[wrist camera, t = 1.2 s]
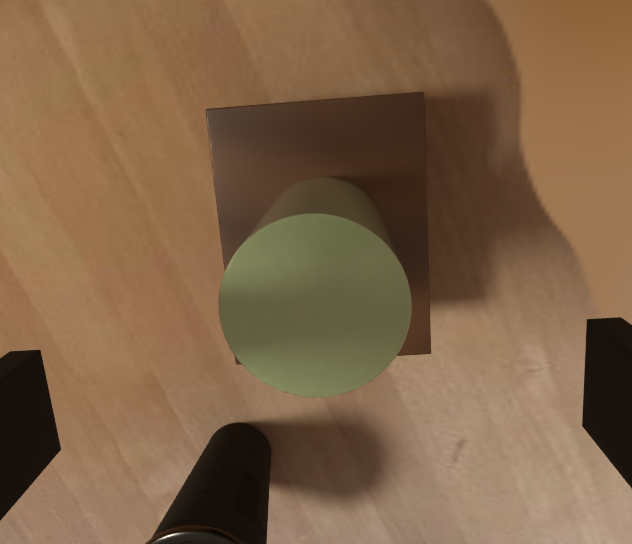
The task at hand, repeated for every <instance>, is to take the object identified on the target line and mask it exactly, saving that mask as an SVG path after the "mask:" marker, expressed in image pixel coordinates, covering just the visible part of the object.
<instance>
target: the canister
mask: <svg viewBox="0 0 632 544" xmlns="http://www.w3.org/2000/svg"><path fill="white" fill-rule="evenodd" d="M411 312H412V301H411V291H410V287H409V283H408V279H407V277H406V274H405V272H404V269H403V267H402V264H401V262H400V260H399V257H398V255H397V253H396V251H395V248H394V246H393V244H392V241H391V239H390V237H389V234H388V232H387V230H386V227H385V225H384V223H383V220H382V218H381V216H380V214H379V211H378V209H377V208H376V206H375V204H374V203H373V201H372V200H371V199H370V198H369V197H368V196H367V195H366V194H365V193H364V192H363V191H362V190H361V189H359V188H358V187H356V186H355V185H353V184H351V183H349V182H347V181H344V180H341V179H337V178H331V177H316V178H310V179H306V180H303V181H300V182H298V183H296V184H294V185H292V186H291V187H289V188H288V189H287V190H285V191H284V192H283V193H282V194H281V195H280V196H279V197H278V198H277V199H276V200H275V202H274V203H273V204H272V206H271V207H270V208H269V209H268V211H267V212H266V213H265V215H264V216H263V217H262V219H261V220H260V221H259V222H258V224H257V225H256V226H255V228H254V229H253V230H252V231H251V233H250V234H249V235H248V237H247V238H246V239H245V241H244V242H243V243H242V244H241V246H240V247H239V248H238V250H237V251H236V252H235V254H234V255H233V257H232V258H231V260H230V262H229V264H228V266H227V267H226V270H225V273H224V275H223V278H222V282H221V286H220V291H219V317H220V322H221V327H222V330H223V333H224V336H225V338H226V340H227V342H228V345H229V347H230V349H231V350H232V352H233V353H234V355H235V356H236V358H237V359H238V360H239V361H240V362H241V364H242V365H243V366H244V367H245V368H246V369H247V370H248V371H249V372H250V373H251V374H253V375H254V376H255V377H256V378H258V379H259V380H261V381H262V382H264V383H265V384H267V385H269V386H271V387H273V388H275V389H278V390H280V391H283V392H285V393H289V394H293V395H297V396H305V397H328V396H335V395H339V394H344V393H347V392H350V391H352V390H355V389H357V388H359V387H361V386H363V385H365V384H367V383H369V382H370V381H371V380H373V379H374V378H376V377H377V376H378V375H379V374H381V373H382V372H383V371H384V370H385V369H386V368H387V367H388V366H389V365H390V363H391V362H392V361H393V360H394V359H395V357H396V356H397V354H398V353H399V351H400V349H401V347H402V345H403V343H404V341H405V339H406V336H407V333H408V330H409V326H410V320H411Z"/></svg>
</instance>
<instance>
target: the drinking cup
mask: <svg viewBox="0 0 632 544" xmlns="http://www.w3.org/2000/svg"><path fill="white" fill-rule="evenodd" d="M270 463H271V448H270V445H269V442H268V440H267V438H266V437H265V436H264V434H263V433H262V432H260V431H259V430H258V429H256V428H255V427H253V426H250V425H247V424H241V423H235V424H229V425H226V426H224V427H222V428H220V429H219V430H217V431H216V432H215V434H214V435H213V436H212V438H211V439H210V441H209V443H208V444H207V446H206V448H205V449H204V451H203V453H202V455H201V456H200V458H199V460H198V461H197V463H196V465H195V466H194V468H193V470H192V471H191V473H190V475H189V476H188V478H187V480H186V481H185V483H184V485H183V486H182V488H181V490H180V491H179V493H178V495H177V496H176V498H175V500H174V501H173V503H172V505H171V507H170V508H169V510H168V512H167V513H166V515H165V517H164V518H163V520H162V522H161V523H160V525H159V527H158V528H157V530H156V532H155V533H154V535H153V537H152V538H151V539H150V540H149V541H148V542H146V543H145V544H266V541H267V521H268V502H269V482H270Z"/></svg>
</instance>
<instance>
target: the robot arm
mask: <svg viewBox="0 0 632 544" xmlns="http://www.w3.org/2000/svg"><path fill="white" fill-rule="evenodd" d="M582 426H583V428H584V429H585V430H586V431H587V433H588V434H589V435H590V436H591V438H592V439H593V440H594V441H595V443H596V444H597V445H598V446H599V448H600V449H601V450H602V451H603V453H604V454H605V455H606V457H607V458H608V459H609V460H610V462H611V463H612V464H613V465H614V467H615V468H616V469H617V470H618V472H619V473H620V474H621V475H622V477H623V478H624V479H625V480H626V482H627V483H628V484H629V485H630V487H631V488H632V325H631V324H629V323H628V322H627V321H625V320H624V319H622V318H620V317H619V318H602V319H587V331H586V353H585V376H584V399H583V421H582ZM60 450H61V447H60V442H59V438H58V433H57V428H56V423H55V418H54V413H53V409H52V404H51V399H50V394H49V389H48V385H47V380H46V375H45V370H44V365H43V360H42V356H41V351H40V350H28V351H10V352H9V353H7V354H6V355H4V356H3V357H2V358H0V520H1V519H2V518H3V517H4V516H5V515H6V513H7V512H8V511H9V510H10V509H11V507H12V506H13V505H14V504H15V503H16V502H17V500H18V499H19V498H20V497H21V496H22V495H23V493H24V492H25V491H26V490H27V489H28V488H29V486H30V485H31V484H32V483H33V482H34V481H35V479H36V478H37V477H38V476H39V475H40V474H41V472H42V471H43V470H44V469H45V468H46V467H47V465H48V464H49V463H50V462H51V461H52V459H53V458H54V457H55V456H56V455H57V454H58V452H59V451H60Z"/></svg>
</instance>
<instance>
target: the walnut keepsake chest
mask: <svg viewBox="0 0 632 544" xmlns="http://www.w3.org/2000/svg"><path fill="white" fill-rule="evenodd" d="M206 118H207V126H208V135H209V143H210V152H211V160H212V168H213V177H214V185H215V194H216V202H217V211H218V219H219V227H220V236H221V244H222V253H223V261H224V269H225V270H226V267H227V266H228V264H229V262H230V260H231V258H232V257H233V255H234V254H235V252H236V251H237V250H238V248H239V247H240V246H241V244H242V243H243V242H244V241H245V239H246V238H247V237H248V235H249V234H250V233H251V231H252V230H253V229H254V228H255V226H256V225H257V224H258V222H259V221H260V220H261V219H262V217H263V216H264V215H265V213H266V212H267V211H268V209H269V208H270V207H271V206H272V204H273V203H274V202H275V200H276V199H277V198H278V197H279V196H280V195H281V194H282V193H283V192H284V191H285V190H287V189H288V188H289V187H291V186H292V185H294V184H296V183H298V182H300V181H303V180H306V179H310V178H316V177H331V178H337V179H341V180H344V181H347V182H349V183H351V184H353V185H355V186H356V187H358V188H359V189H361V190H362V191H363V192H364V193H365V194H366V195H367V196H368V197H369V198H370V199H371V200H372V201H373V203H374V204H375V206H376V208H377V209H378V211H379V214H380V216H381V218H382V220H383V223H384V225H385V227H386V230H387V232H388V234H389V237H390V239H391V241H392V244H393V246H394V248H395V251H396V253H397V255H398V257H399V260H400V262H401V264H402V267H403V269H404V272H405V274H406V277H407V279H408V283H409V287H410V291H411V301H412V312H411V320H410V326H409V330H408V333H407V336H406V339H405V341H404V343H403V345H402V347H401V349H400V351H399V353H398V354H397V356H402V355H420V354H431V333H430V295H429V257H428V219H427V181H426V143H425V104H424V92H413V93H401V94H388V95H376V96H363V97H350V98H338V99H325V100H313V101H300V102H288V103H275V104H262V105H250V106H237V107H225V108H212V109H206ZM235 362H236V364H241V362H240V361H239V360H238V359H237V358H236V356H235Z"/></svg>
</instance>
